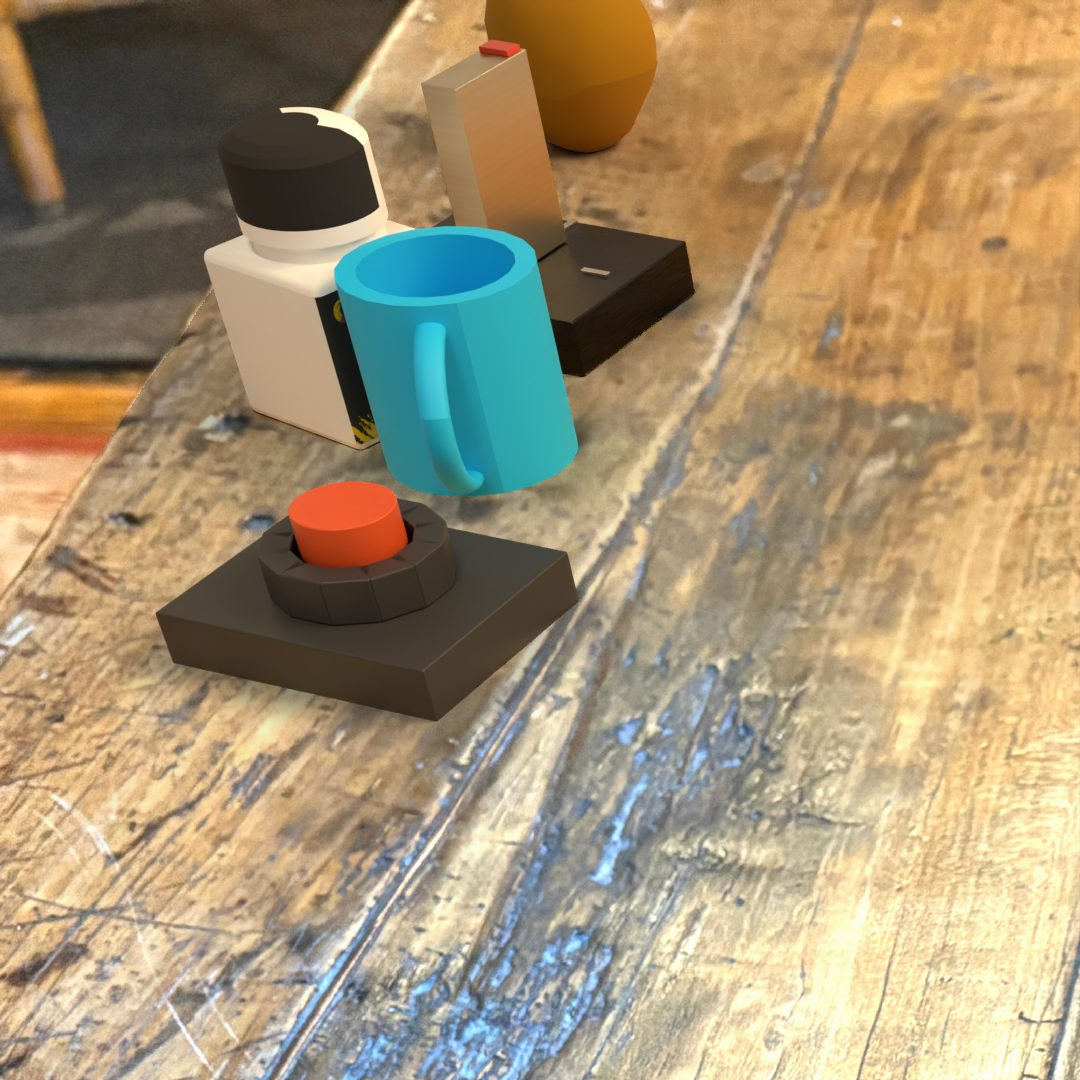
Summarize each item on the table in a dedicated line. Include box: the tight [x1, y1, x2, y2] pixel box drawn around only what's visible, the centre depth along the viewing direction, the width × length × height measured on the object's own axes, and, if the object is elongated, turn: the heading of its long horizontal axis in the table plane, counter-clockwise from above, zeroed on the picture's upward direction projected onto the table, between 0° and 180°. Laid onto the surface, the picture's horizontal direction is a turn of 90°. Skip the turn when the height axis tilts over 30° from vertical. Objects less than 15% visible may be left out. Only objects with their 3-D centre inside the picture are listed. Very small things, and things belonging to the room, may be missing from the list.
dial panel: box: [432, 213, 696, 377], centre depth 125 cm, size 12×10×3 cm
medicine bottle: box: [203, 106, 415, 451], centre depth 115 cm, size 7×7×12 cm
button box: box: [155, 497, 579, 722], centre depth 104 cm, size 12×10×4 cm
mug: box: [334, 226, 580, 498], centre depth 112 cm, size 12×8×8 cm
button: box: [287, 480, 408, 568], centre depth 102 cm, size 4×4×2 cm
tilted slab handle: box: [420, 40, 567, 260], centre depth 121 cm, size 6×2×9 cm, turn 160°
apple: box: [483, 0, 658, 153], centre depth 138 cm, size 8×8×9 cm
